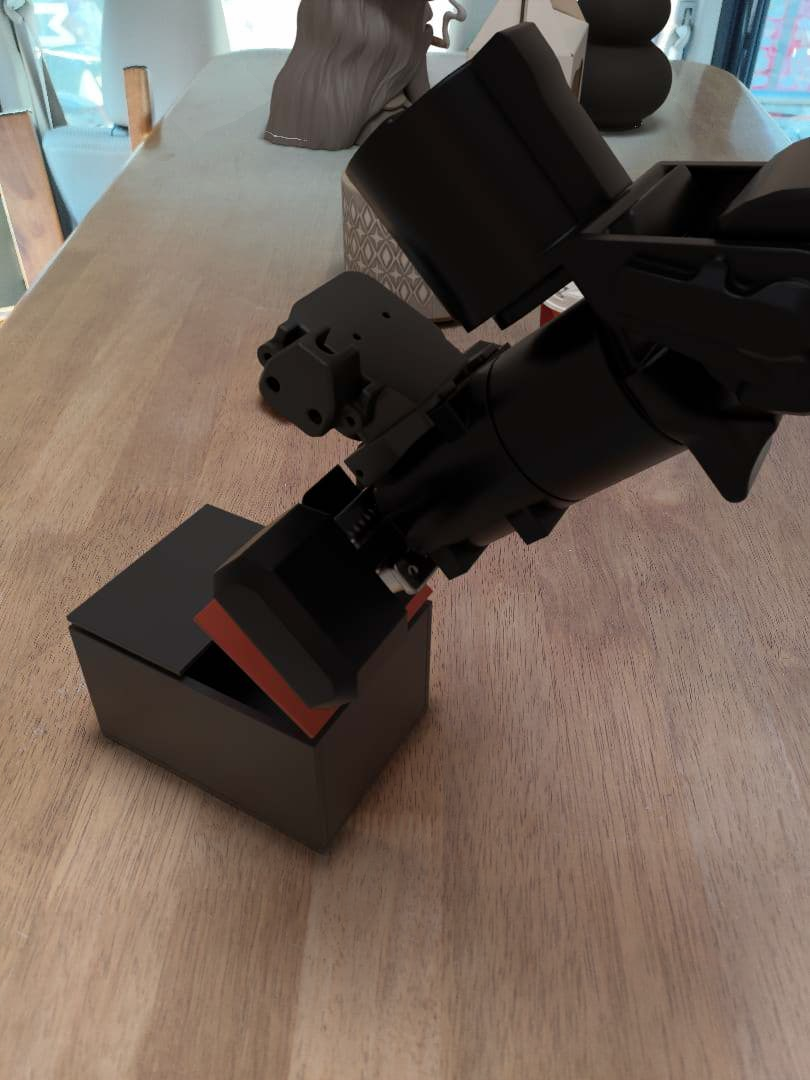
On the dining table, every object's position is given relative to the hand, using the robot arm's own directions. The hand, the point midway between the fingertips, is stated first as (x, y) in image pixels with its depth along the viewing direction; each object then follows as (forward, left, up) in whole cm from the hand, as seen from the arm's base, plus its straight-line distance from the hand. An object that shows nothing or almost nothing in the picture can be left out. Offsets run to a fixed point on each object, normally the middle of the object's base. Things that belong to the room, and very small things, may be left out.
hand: (303, 564), depth 42 cm
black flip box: (+3, +1, -13) cm, 14 cm away
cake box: (+49, -92, -14) cm, 105 cm away
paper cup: (+6, -36, -14) cm, 39 cm away
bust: (+82, -95, -14) cm, 126 cm away
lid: (-1, 0, -2) cm, 2 cm away
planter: (+33, -50, -14) cm, 61 cm away
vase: (+52, -122, -14) cm, 133 cm away
